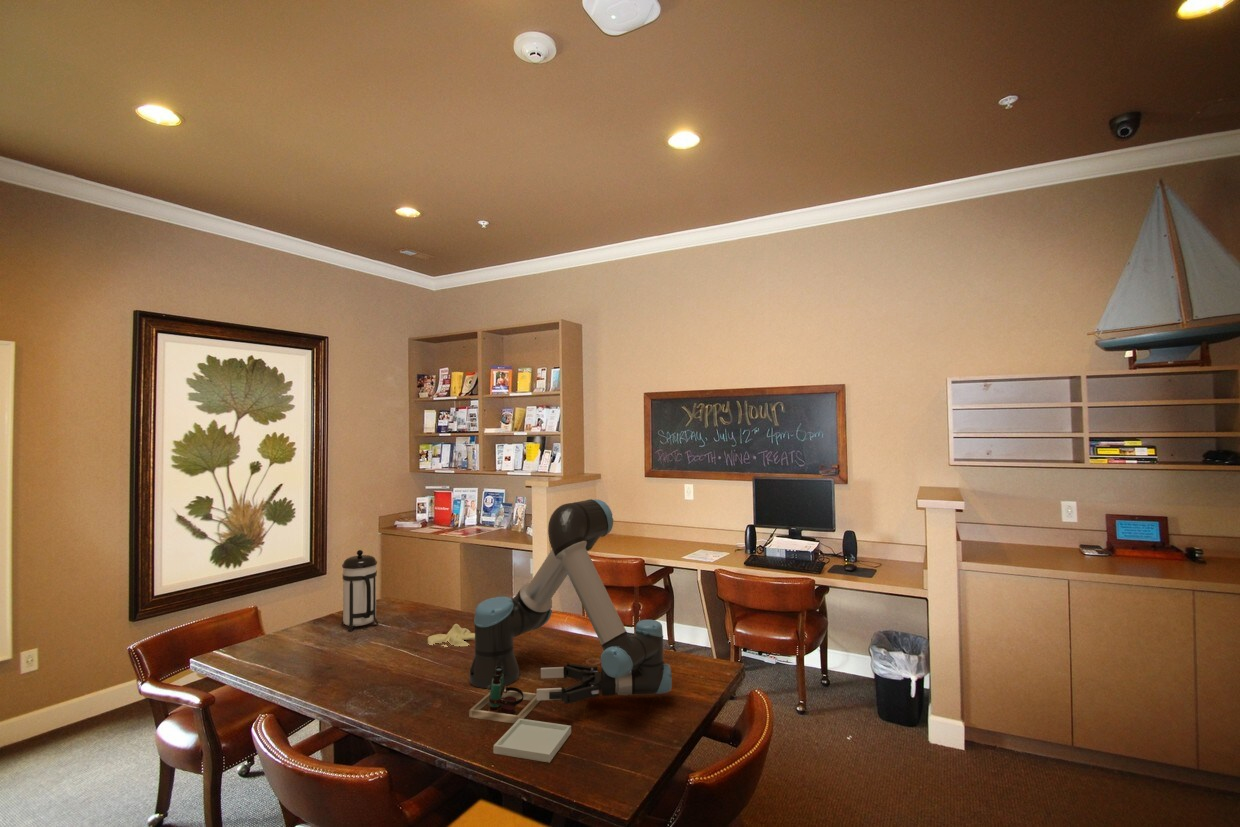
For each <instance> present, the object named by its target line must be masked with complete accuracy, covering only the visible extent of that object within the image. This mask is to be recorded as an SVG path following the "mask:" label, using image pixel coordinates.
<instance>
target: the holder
mask: <svg viewBox="0 0 1240 827" xmlns="http://www.w3.org/2000/svg"><path fill="white" fill-rule="evenodd" d="M504 692H506V689H504ZM504 692H503V695H502V697H501V698H505V697H508V696H512V697H515V698H516V700H520V699H522V695H521V694H520V693H518V692H516V691H507V693H504ZM522 692H523V701H529V702H528V704H527V705H526V706H525V707H524V708H522V710H521V711H520V712H519V713H518V714H505V713H502V712H498V713H497V712H490V711H488V710H482V709H483V708H484V707H485V706H486V705H488V704H489V695H490V692H488V693H487V694H485V696H483V697H482V698H481V699H480V700H479V701H478V702H477V703H476V704H474V705H473V706H472V707H471V708H470V709H469V710H468V718H474V719H479V720H486V721H492V722H502V723H507V724H512V725H514V724H515V722H516V721H517V720H518V719H519V718H520V719H526V717H527V716H528V715H529V714H530V713H531V711H532V710H534V708H535V707H536V706H537V705H538V704H539V703H541V701H542V700H537V693H535V692H527V691H522Z"/></svg>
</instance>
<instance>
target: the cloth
mask: <svg viewBox="0 0 1240 827" xmlns="http://www.w3.org/2000/svg"><path fill="white" fill-rule="evenodd" d="M464 640H466V641H464ZM447 641H448V642H449V643H450V644H451V645H454V646H453V647H459V646H460V647H468V645H469V646H470V643H468V642H467V641H475V632H471V631H470V630H469V628H466V627H461V626H460V625H459V624H458V623H455V624H453V625H452V628H450V629H449V631H448V632H447V633H446V634H445V633H444V634H443V633H438V634H433V635H430V636H428V637H427V645H428V644H429V645H432V646H434V645H436V644H435V643H439V644H441V645H440V647H442V646H444V647H443V648H445V647H448V646H449V645H450V644H449V643H448V642H447ZM442 642H445V643H448V644H449V645H448V644H445V643H442ZM433 644H434V645H433ZM444 644H445V645H444ZM429 645H428V646H429ZM447 645H448V646H447ZM451 645H450V646H451Z"/></svg>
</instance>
